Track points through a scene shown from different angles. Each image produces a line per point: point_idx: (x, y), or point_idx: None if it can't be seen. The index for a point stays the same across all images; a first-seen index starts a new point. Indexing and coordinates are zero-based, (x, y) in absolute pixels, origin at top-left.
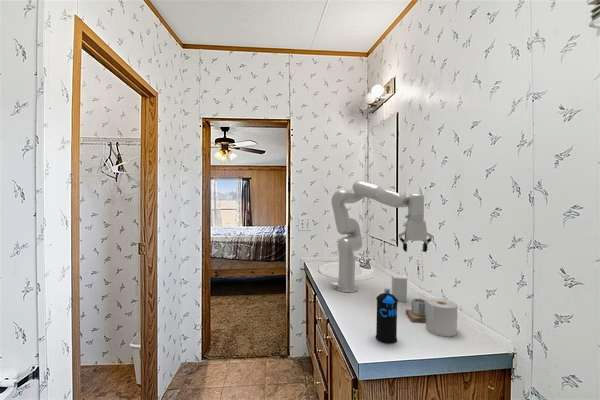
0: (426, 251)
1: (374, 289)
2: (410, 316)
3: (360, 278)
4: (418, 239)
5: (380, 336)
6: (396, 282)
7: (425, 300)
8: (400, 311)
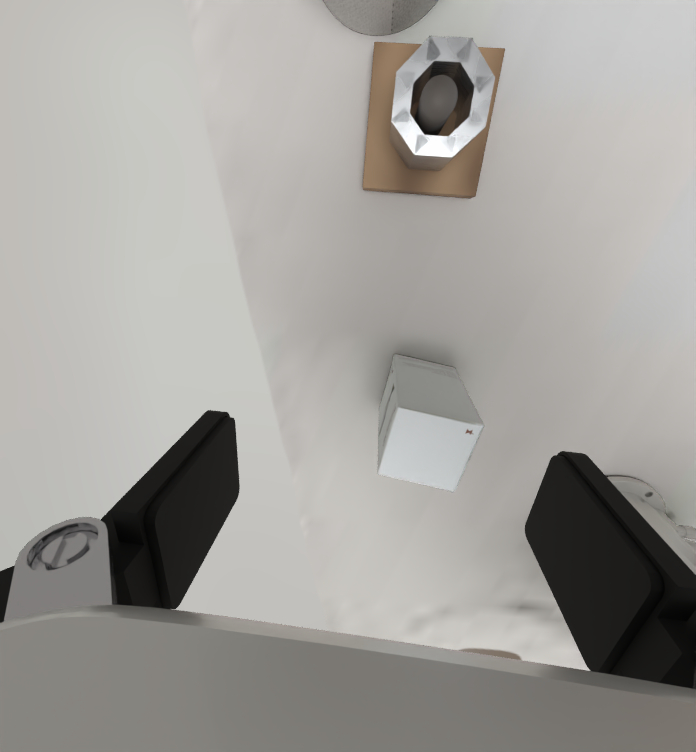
0: (205, 413)
1: (470, 507)
2: (497, 85)
3: (470, 621)
4: (348, 684)
5: None
6: (459, 406)
7: (394, 113)
8: (481, 230)
